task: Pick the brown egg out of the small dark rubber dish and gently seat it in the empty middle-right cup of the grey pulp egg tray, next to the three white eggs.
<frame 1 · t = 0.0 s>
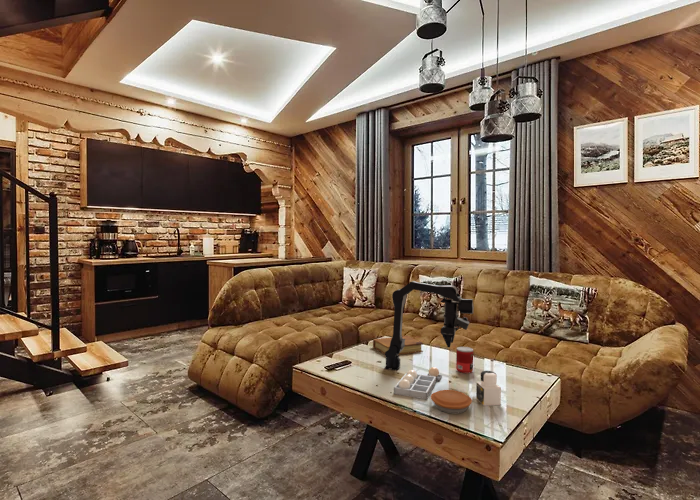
hand: (450, 344, 186), 15 cm above the table, tool pointing down, fingers open, 9 cm apart
egg dish: (433, 378, 183), on the table
medicine bottle: (488, 402, 157), on the table
white egg 2: (408, 380, 172), point 3 cm above the table, touching egg tray
canned food: (464, 371, 194), on the table
pie: (450, 408, 151), on the table
diary: (397, 350, 231), on the table
egg tray: (415, 387, 171), on the table
white egg 3: (412, 375, 178), point 3 cm above the table, touching egg tray
brown egg: (433, 372, 183), point 3 cm above the table, touching egg dish
white egg 1: (404, 385, 166), point 3 cm above the table, touching egg tray
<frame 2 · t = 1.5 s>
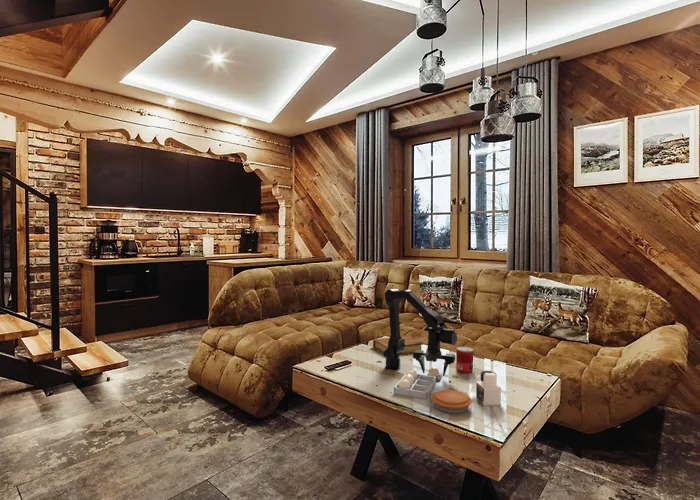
hand: (433, 374, 183), 2 cm above the table, tool pointing down, fingers open, 9 cm apart
nothing on the table moved.
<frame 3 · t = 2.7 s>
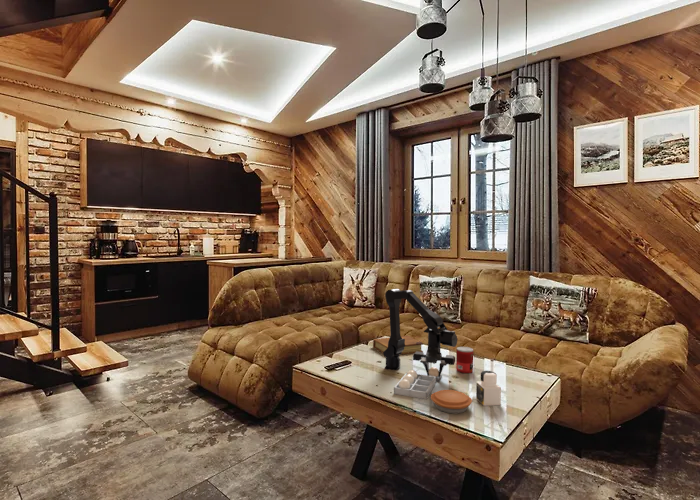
hand: (433, 376, 183), 1 cm above the table, tool pointing down, fingers closed on brown egg, 5 cm apart
brown egg: (433, 372, 183), point 3 cm above the table, touching egg dish, gripper
everything else where it was.
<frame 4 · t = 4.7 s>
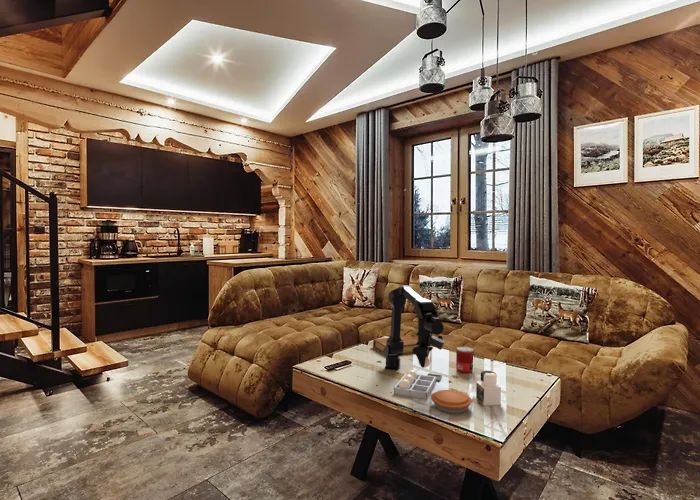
hand: (424, 365, 169), 10 cm above the table, tool pointing down, fingers closed on brown egg, 5 cm apart
brown egg: (424, 361, 169), point 12 cm above the table, touching gripper
everything else where it was.
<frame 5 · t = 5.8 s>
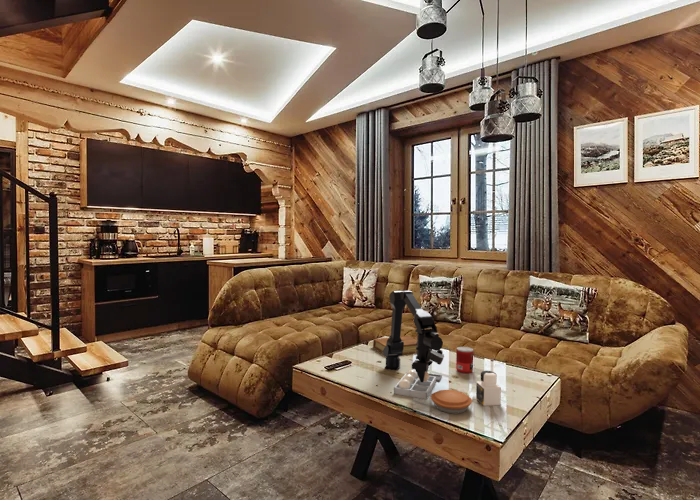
hand: (423, 380, 170), 4 cm above the table, tool pointing down, fingers closed on brown egg, 5 cm apart
brown egg: (423, 376, 169), point 6 cm above the table, touching gripper
everything else where it was.
when the fingers open (3 cm above the table, at t = 6.6 s): brown egg drops 2 cm, resting on egg tray.
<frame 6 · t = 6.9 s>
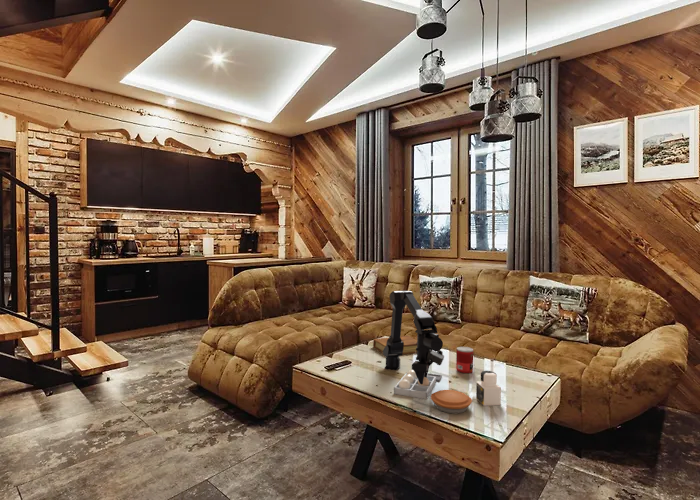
hand: (423, 380, 170), 3 cm above the table, tool pointing down, fingers open, 8 cm apart
brown egg: (423, 382, 170), point 3 cm above the table, touching egg tray
everything else where it was.
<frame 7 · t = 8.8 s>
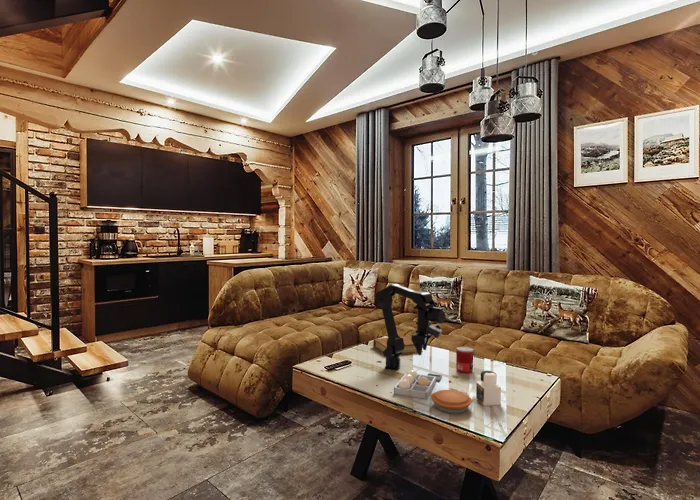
hand: (422, 352, 184), 12 cm above the table, tool pointing down, fingers open, 9 cm apart
nothing on the table moved.
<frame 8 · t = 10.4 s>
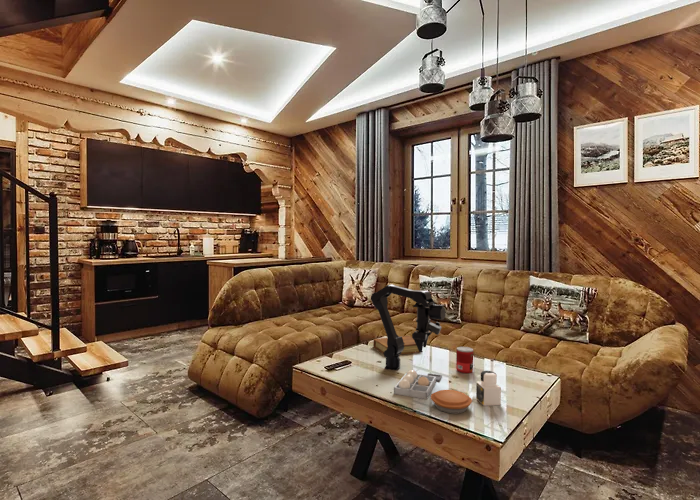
hand: (422, 349, 188), 12 cm above the table, tool pointing down, fingers open, 9 cm apart
nothing on the table moved.
at the end: brown egg 0.1 cm from the target spot on the egg tray, point 2.9 cm above the egg tray's base; the gripper is holding nothing; white egg 2 moved 0.1 cm from its start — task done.
